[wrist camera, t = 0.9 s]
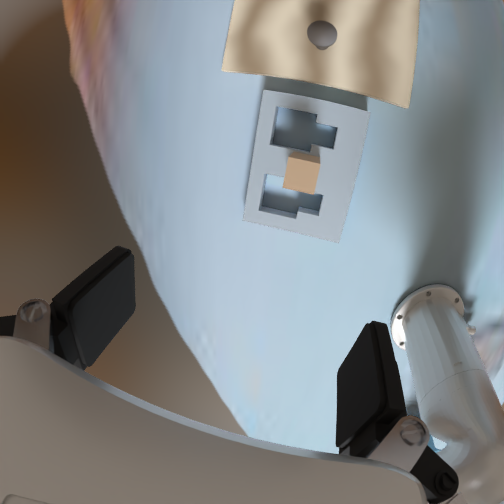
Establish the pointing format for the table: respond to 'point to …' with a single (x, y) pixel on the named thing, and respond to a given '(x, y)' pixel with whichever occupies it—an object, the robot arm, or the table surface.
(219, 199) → the table surface
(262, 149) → the panel
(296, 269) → the table surface
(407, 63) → the board
